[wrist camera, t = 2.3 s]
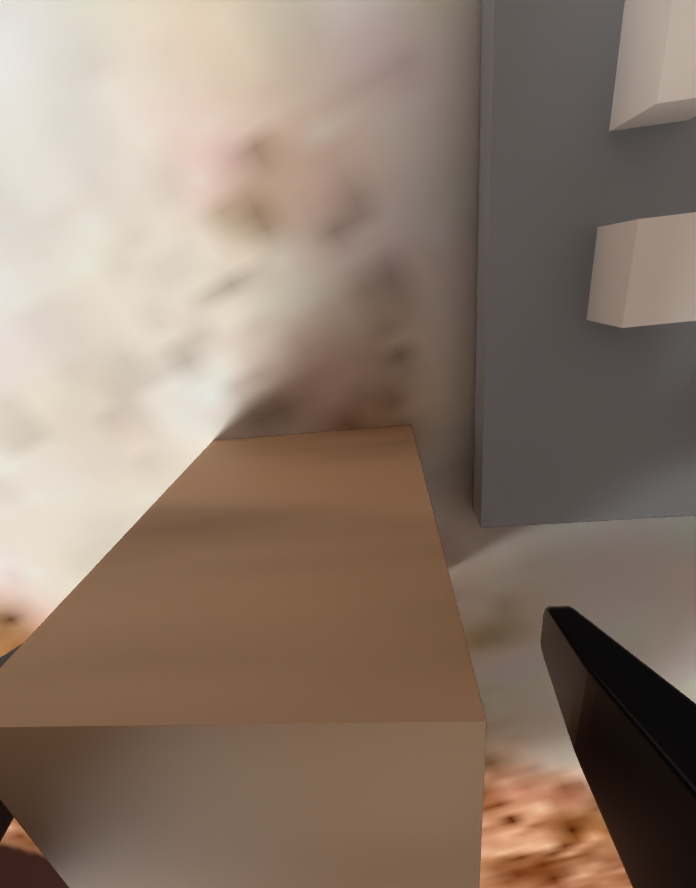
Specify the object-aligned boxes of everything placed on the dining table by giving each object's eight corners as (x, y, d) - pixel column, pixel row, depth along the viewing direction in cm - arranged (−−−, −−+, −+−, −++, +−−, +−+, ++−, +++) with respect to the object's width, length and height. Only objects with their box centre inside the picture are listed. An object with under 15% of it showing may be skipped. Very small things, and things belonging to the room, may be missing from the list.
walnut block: (418, 584, 12) (476, 966, 5) (252, 591, 12) (118, 950, 6) (411, 424, 10) (486, 721, 3) (213, 440, 10) (-57, 727, 4)
